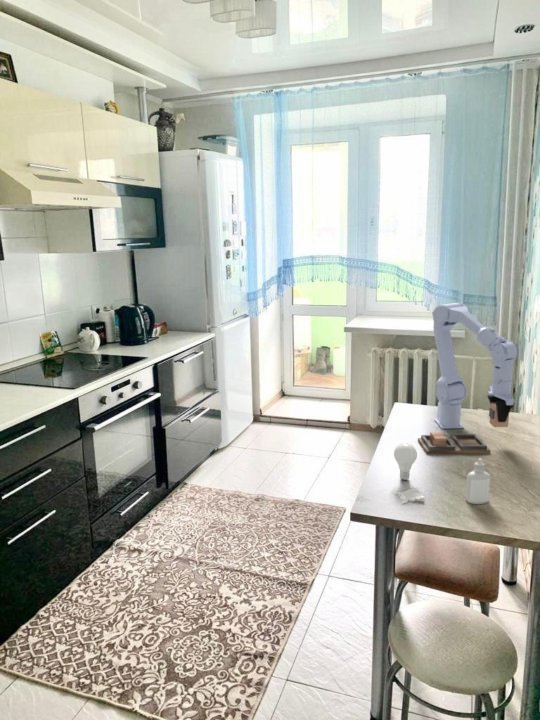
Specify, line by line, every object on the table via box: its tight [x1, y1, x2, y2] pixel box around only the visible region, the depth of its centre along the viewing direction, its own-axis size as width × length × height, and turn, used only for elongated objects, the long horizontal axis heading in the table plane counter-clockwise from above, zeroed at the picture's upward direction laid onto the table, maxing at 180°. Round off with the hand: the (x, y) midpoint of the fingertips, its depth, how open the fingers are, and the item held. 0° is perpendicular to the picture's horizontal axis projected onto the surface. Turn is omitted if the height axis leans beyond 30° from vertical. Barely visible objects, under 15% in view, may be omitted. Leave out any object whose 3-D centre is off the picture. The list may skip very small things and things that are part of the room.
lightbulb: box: [393, 442, 418, 481], centre depth 152 cm, size 6×6×11 cm
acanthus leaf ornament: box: [394, 487, 425, 505], centre depth 144 cm, size 8×7×2 cm
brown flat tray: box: [417, 431, 491, 455], centre depth 174 cm, size 11×20×4 cm, turn 89°
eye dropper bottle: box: [465, 458, 491, 505], centre depth 139 cm, size 4×6×12 cm
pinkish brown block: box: [488, 403, 510, 428], centre depth 173 cm, size 4×5×7 cm
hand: (499, 419), depth 174 cm, fingers closed on pinkish brown block, 4 cm apart
